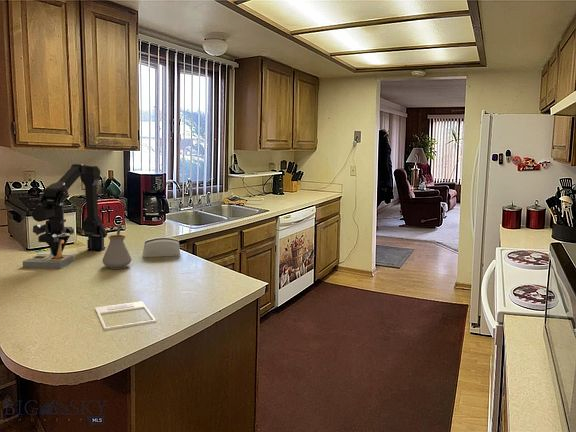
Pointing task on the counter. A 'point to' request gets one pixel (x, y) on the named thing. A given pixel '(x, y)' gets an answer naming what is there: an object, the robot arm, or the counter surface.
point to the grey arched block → (161, 247)
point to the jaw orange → (59, 250)
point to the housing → (47, 261)
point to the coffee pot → (116, 252)
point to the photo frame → (123, 308)
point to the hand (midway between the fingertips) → (57, 254)
